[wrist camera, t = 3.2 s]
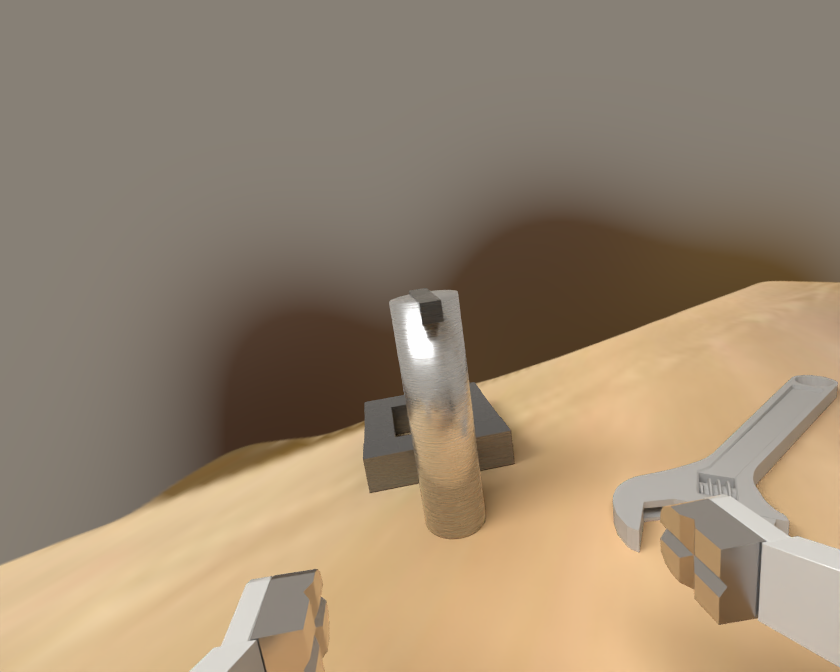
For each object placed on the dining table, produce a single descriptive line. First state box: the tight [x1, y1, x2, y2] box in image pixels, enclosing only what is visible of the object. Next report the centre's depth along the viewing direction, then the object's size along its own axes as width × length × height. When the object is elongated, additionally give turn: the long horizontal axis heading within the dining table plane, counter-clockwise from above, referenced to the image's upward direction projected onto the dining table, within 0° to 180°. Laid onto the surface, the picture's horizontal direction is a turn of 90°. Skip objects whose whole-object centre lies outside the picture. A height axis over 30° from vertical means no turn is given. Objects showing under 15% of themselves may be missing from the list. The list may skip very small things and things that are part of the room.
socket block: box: [363, 382, 514, 493], centre depth 32 cm, size 10×10×2 cm
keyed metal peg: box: [389, 288, 486, 539], centre depth 22 cm, size 4×5×13 cm
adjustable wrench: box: [613, 375, 838, 552], centre depth 25 cm, size 25×6×2 cm, turn 120°
